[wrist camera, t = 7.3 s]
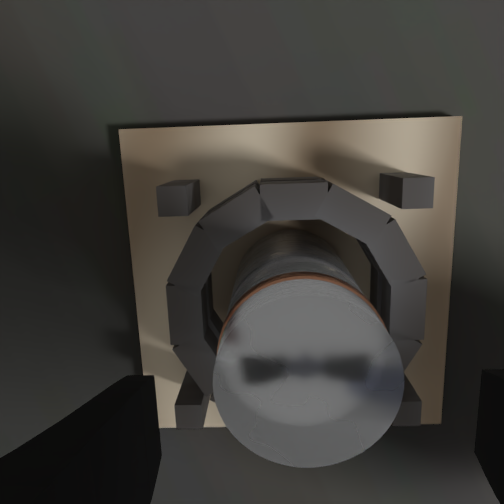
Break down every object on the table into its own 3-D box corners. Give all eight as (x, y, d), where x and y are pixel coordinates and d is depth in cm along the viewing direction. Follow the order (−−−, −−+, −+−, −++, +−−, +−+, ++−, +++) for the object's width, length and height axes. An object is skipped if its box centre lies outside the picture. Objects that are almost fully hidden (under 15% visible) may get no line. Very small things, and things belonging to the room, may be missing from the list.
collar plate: (455, 117, 17) (504, 108, 14) (435, 415, 20) (471, 472, 17) (123, 129, 18) (88, 125, 14) (152, 420, 21) (128, 475, 17)
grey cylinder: (350, 228, 18) (415, 294, 10) (344, 336, 19) (398, 472, 11) (235, 227, 18) (208, 291, 10) (235, 333, 19) (211, 466, 11)
